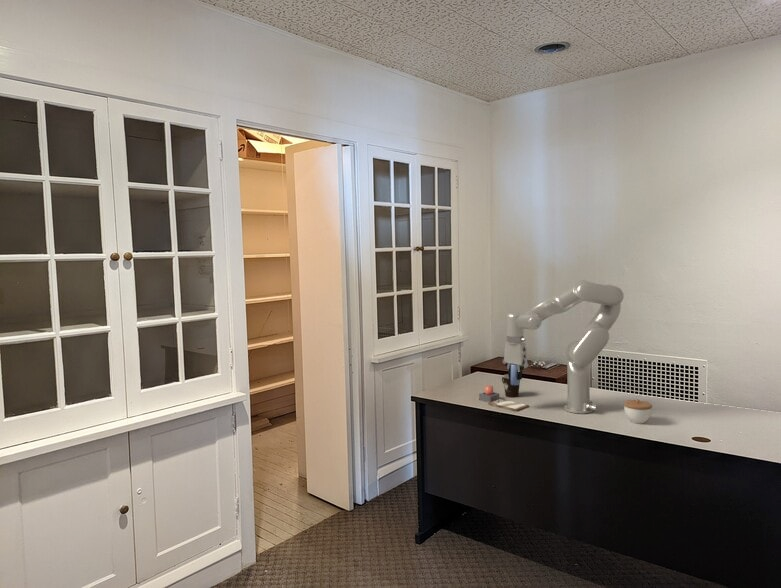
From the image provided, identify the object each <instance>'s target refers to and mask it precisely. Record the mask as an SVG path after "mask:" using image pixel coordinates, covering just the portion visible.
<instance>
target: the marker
mask: <svg viewBox="0 0 781 588" xmlns="http://www.w3.org/2000/svg"><path fill="white" fill-rule="evenodd" d="M517 371H518V368H517V365H515V364H513V363H511V385H521V380H517Z"/></svg>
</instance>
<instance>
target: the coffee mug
mask: <svg viewBox="0 0 781 588" xmlns="http://www.w3.org/2000/svg"><path fill="white" fill-rule="evenodd" d="M501 382H502V384H503V387H504V395H505V397H507V398H519V393H520V385H521V384H520V385H511V378H508V374H504V375H502V377H501Z"/></svg>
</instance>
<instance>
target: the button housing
mask: <svg viewBox="0 0 781 588" xmlns="http://www.w3.org/2000/svg"><path fill="white" fill-rule="evenodd" d="M478 395H479V396H478V399H479V401H482V402H486V403H490V402H493V401H496V400H499V399H500V393H498V392H495V391H493V395H485V391H484V392H480V393H478Z"/></svg>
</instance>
